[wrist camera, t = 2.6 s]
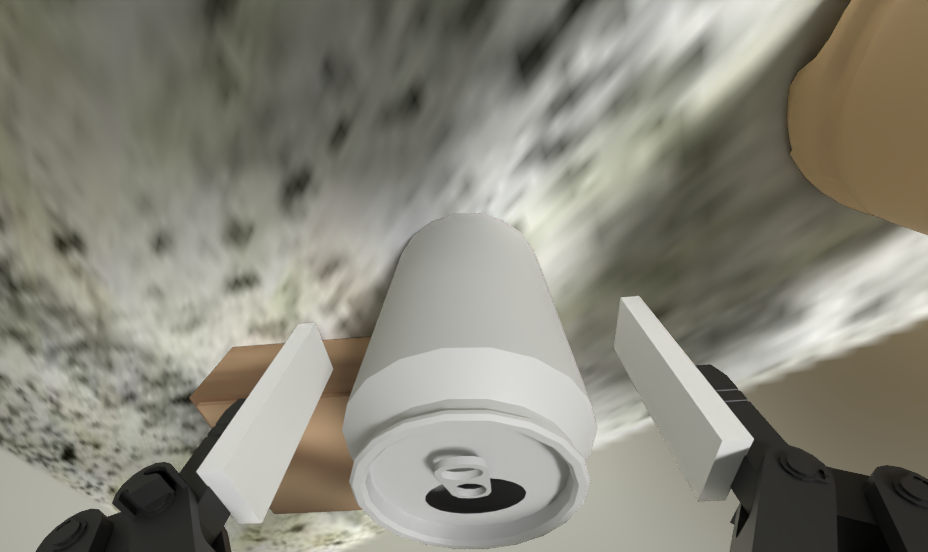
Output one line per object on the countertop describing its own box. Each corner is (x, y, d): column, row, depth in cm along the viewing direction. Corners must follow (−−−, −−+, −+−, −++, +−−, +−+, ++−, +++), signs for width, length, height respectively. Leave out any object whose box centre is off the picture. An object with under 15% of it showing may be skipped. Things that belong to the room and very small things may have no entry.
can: (419, 332, 21) (373, 575, 11) (383, 219, 18) (266, 425, 7) (541, 316, 21) (614, 558, 10) (530, 194, 17) (627, 383, 7)
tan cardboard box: (232, 347, 22) (185, 401, 19) (418, 333, 21) (408, 386, 18) (297, 459, 28) (271, 517, 25) (444, 451, 27) (440, 509, 24)
